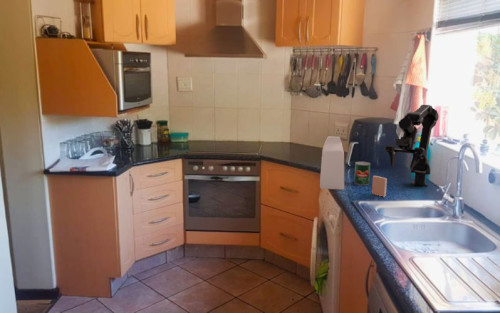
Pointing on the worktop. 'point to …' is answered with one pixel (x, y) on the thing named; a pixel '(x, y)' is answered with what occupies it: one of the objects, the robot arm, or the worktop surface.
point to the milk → (332, 164)
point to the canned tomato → (362, 173)
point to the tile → (379, 186)
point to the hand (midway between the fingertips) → (401, 168)
